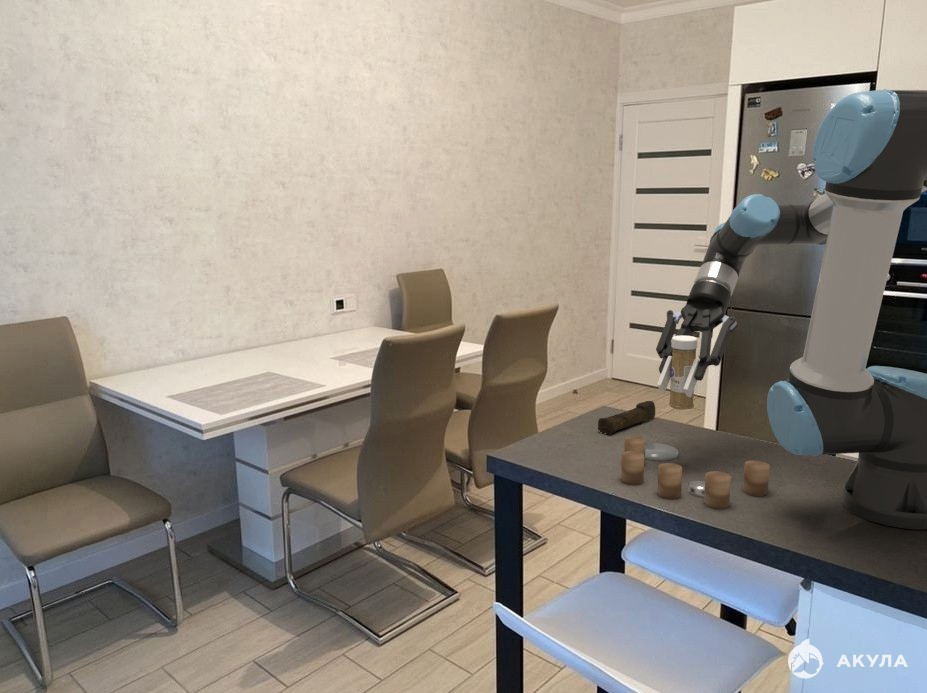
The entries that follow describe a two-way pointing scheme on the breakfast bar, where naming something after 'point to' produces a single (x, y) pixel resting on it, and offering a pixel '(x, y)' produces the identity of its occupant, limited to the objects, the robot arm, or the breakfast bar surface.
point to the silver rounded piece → (697, 488)
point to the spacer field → (672, 476)
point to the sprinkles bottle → (681, 370)
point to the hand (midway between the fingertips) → (673, 390)
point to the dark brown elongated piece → (627, 418)
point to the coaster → (660, 452)
